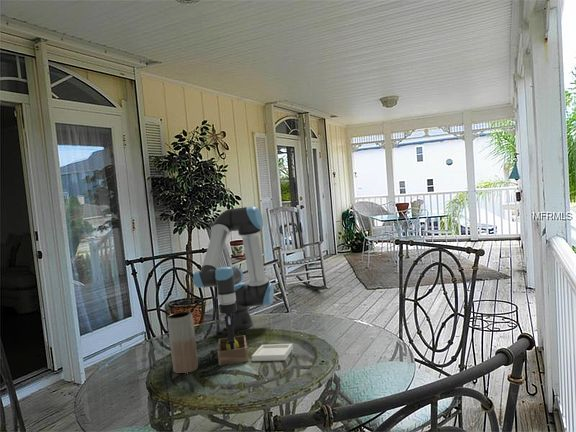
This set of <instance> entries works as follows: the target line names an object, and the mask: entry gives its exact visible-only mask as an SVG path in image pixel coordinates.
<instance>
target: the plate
mask: <svg viewBox="0 0 576 432" xmlns="http://www.w3.org/2000/svg"><path fill="white" fill-rule="evenodd" d="M293 349H294V345H293V343H276V344H275V343H274V344H272V343H271V344H261V345H260V346H259V348H257V350H256V351H254V352H253V354H251V360H252V361H251V362H263V361H265V362H267V361H269V362H270V361H286V359H287V358H288V357H289V355H290V354H291V352H292V351H293ZM291 350H292V351H291Z"/></svg>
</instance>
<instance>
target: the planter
mask: <svg viewBox="0 0 576 432" xmlns="http://www.w3.org/2000/svg"><path fill="white" fill-rule="evenodd" d="M166 319H167V327H168V336H169V337H168V338H169V345H170V355H171V362H172V371H173V373H174V372H177V373H185V374H188V372H189V373H192V372H195V371H196V370H197V369H198V368H199V361H198V360H199V359H198V352H197V342H196V336H195V335H196V334H195V333H196V332H195V325H194V316H193V312H192V311H180V312H174V313H171V314H169V315H167V317H166Z"/></svg>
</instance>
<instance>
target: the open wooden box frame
mask: <svg viewBox="0 0 576 432" xmlns="http://www.w3.org/2000/svg"><path fill="white" fill-rule="evenodd" d="M235 340H236V341H237V342H238V344H239V349H232V350H226V344H227V342H228V337H223V338H218V341H217V342H218V343H217V344H218V345H217V360H218V366H225V365H231V364H238V363H244V362H249V355H248V347H247V346H248V345H247V339H246V335H245V334H244V335H236V337H235Z"/></svg>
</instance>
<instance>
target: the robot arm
mask: <svg viewBox="0 0 576 432" xmlns="http://www.w3.org/2000/svg"><path fill="white" fill-rule="evenodd" d="M263 220H264V219H263V216H262V213H261V210H260V209H259V208H258V207H257V206H243V207H236V208H229V209H225V210H224V211H223V212H222V213H220V214H219V215H218V216H217V217H216V218H215V220H214V222H213V224H212V225H211V229H210V230H211V236H210V239H209V242H208V247H207V249H206V252H205V256H204V259H203V262H202V266H201V268H200V270H198V271H195V272H194V273H193V275H192V281H193V284H194V287H196V288H212V287H216V289H217V296H216V299H217V300H218V307H219V313H220V314H222V315H224V314H225V316H224V323H225V324H224V326H225V330H226V331H227V338H228V343H227V344H229V350H232V349H236V347H235V341H234V339H235V337H236V336H237V334H235V331H238V330H244V329H248V328H250V327H252V326H254V319H253V317H252V314H250V311H249V308H250V307H264V306H271V304H272V303H273V301H274V295H275V290H274V289H275V288H274V283H273V282H270V279H269V278H268V277H266V273H265V266H264V262H263V255H262V248H261V243H260V237H259V234H260V232H261V231H262V228H263V226H264V221H263ZM236 231H237V232H238V233H237V234H238V235H239V236H240V237H241V238H242V244H243V251H244V255H245V262H246V267H247V271H248V272H247V273H248V281H247V284H246V282H243V279H244V272H243V270H242V269H241V268H240V267H231V266H221V267H219V266H220V262H221V259H222V255H223V252H224V248H225V245H226V242H227V241H226V240H227V238H228V237H229V236H230V233H231V232H236Z"/></svg>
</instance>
